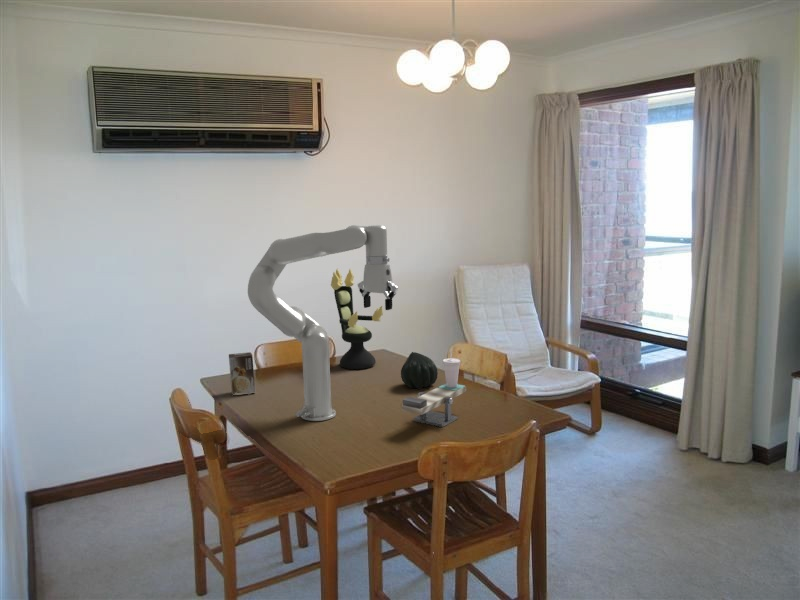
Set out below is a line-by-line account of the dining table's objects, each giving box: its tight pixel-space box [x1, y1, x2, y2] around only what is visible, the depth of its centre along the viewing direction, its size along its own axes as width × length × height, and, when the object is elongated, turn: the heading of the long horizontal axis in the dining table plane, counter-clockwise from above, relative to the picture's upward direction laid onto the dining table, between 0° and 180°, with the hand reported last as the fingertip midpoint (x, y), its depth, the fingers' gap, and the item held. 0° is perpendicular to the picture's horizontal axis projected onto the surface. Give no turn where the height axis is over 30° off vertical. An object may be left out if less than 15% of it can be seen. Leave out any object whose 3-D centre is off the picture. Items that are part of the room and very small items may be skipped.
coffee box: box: [228, 351, 256, 395], centre depth 268 cm, size 9×6×16 cm
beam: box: [401, 383, 467, 416], centre depth 232 cm, size 29×8×4 cm, turn 144°
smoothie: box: [442, 347, 461, 388], centre depth 239 cm, size 6×6×14 cm
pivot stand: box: [412, 391, 458, 428], centre depth 232 cm, size 10×14×9 cm
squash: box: [400, 351, 438, 390], centre depth 273 cm, size 14×15×15 cm
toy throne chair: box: [330, 268, 384, 370], centre depth 306 cm, size 19×22×45 cm
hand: (377, 308), depth 237 cm, fingers open, 9 cm apart
